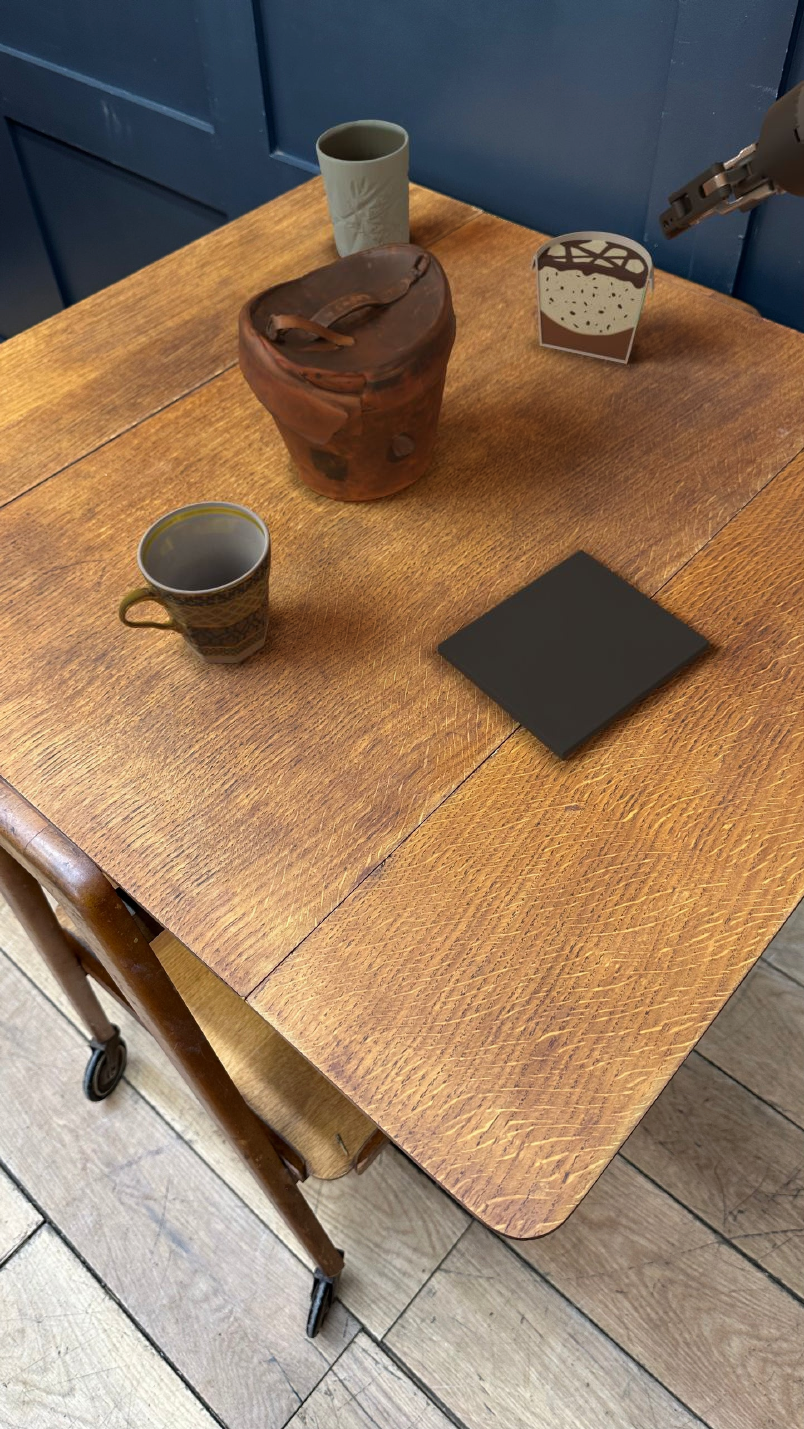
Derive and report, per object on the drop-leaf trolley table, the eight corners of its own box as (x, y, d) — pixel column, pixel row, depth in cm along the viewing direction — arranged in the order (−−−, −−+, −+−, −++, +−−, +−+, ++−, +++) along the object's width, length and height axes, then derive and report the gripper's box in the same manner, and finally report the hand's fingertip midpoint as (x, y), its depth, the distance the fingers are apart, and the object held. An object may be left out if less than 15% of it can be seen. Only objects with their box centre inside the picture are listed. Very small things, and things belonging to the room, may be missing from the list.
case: (225, 504, 94) (181, 329, 80) (325, 381, 105) (302, 207, 91) (400, 555, 89) (387, 376, 75) (487, 420, 100) (490, 241, 86)
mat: (580, 557, 88) (581, 549, 87) (708, 649, 81) (710, 641, 80) (437, 652, 82) (437, 644, 81) (562, 760, 75) (563, 752, 75)
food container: (658, 334, 107) (673, 240, 99) (641, 367, 104) (655, 273, 96) (546, 311, 111) (552, 219, 103) (526, 342, 107) (530, 250, 99)
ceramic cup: (242, 573, 89) (219, 482, 81) (313, 635, 84) (296, 545, 76) (114, 652, 84) (77, 564, 76) (182, 723, 79) (150, 637, 71)
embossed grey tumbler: (419, 263, 118) (415, 155, 108) (332, 274, 118) (319, 166, 108) (407, 220, 124) (401, 113, 115) (324, 230, 124) (311, 124, 114)
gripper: (895, 43, 76) (749, 151, 91) (751, 89, 72) (623, 194, 87) (925, 144, 77) (777, 234, 93) (786, 195, 73) (654, 280, 88)
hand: (702, 214), depth 90 cm, fingers open, 8 cm apart
